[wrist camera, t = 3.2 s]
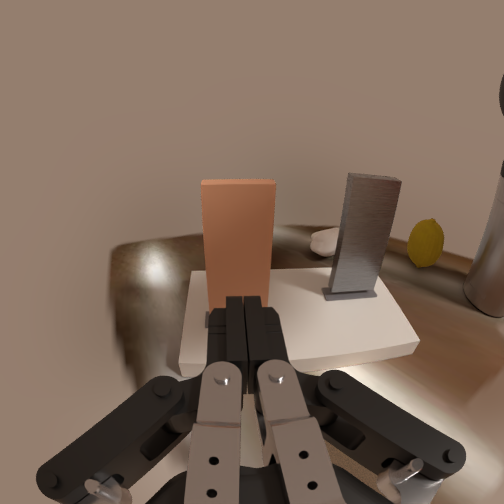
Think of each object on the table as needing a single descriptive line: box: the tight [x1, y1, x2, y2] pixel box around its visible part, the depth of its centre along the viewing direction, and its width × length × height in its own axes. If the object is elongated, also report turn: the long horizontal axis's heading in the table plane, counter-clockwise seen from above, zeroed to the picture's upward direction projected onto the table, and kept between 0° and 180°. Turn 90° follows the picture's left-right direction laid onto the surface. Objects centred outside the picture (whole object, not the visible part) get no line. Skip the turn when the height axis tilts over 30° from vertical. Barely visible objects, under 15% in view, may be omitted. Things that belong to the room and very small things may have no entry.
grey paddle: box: [328, 173, 402, 292], centre depth 26 cm, size 5×1×12 cm, turn 94°
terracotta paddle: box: [201, 179, 276, 313], centre depth 22 cm, size 5×1×12 cm, turn 95°
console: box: [179, 268, 420, 377], centre depth 28 cm, size 22×13×2 cm, turn 94°
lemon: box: [407, 219, 444, 268], centre depth 35 cm, size 6×6×8 cm
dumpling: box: [310, 228, 339, 257], centre depth 39 cm, size 7×5×4 cm
